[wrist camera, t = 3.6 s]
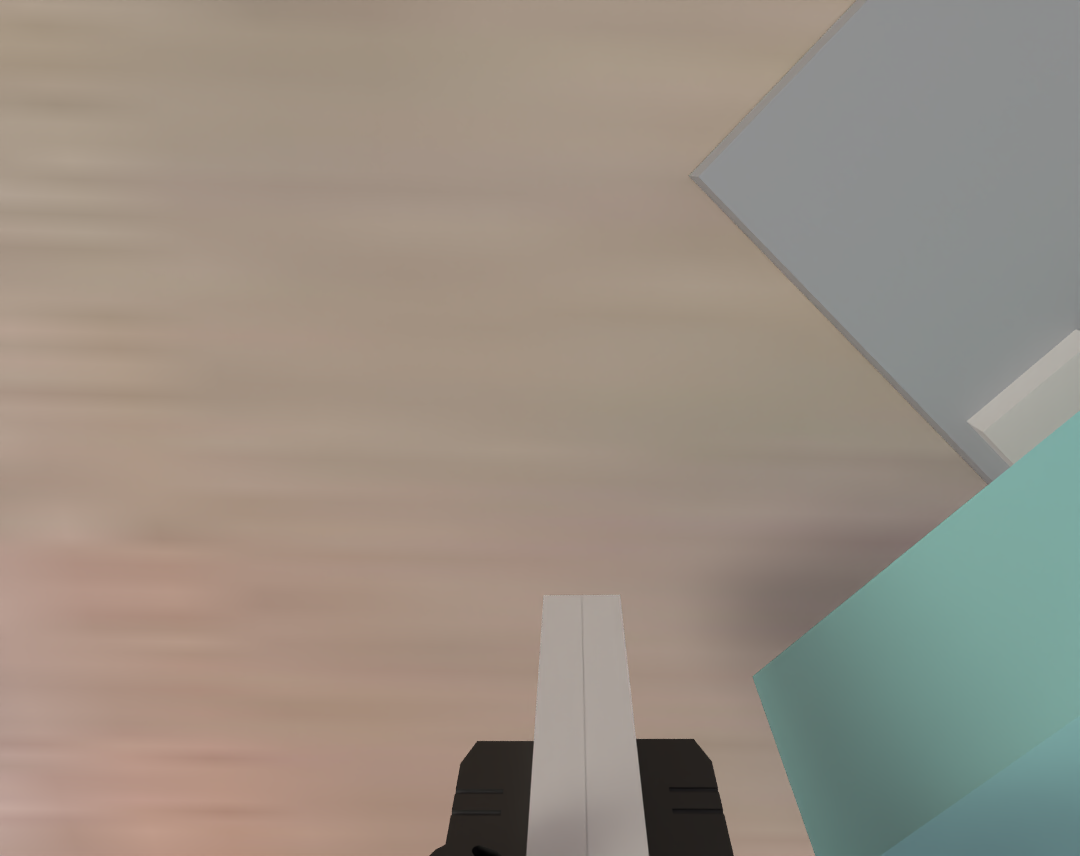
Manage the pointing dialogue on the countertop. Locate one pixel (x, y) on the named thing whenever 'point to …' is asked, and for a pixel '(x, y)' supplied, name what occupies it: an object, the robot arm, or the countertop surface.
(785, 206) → the post board
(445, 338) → the countertop surface
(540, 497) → the countertop surface
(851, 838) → the domed saucepan
